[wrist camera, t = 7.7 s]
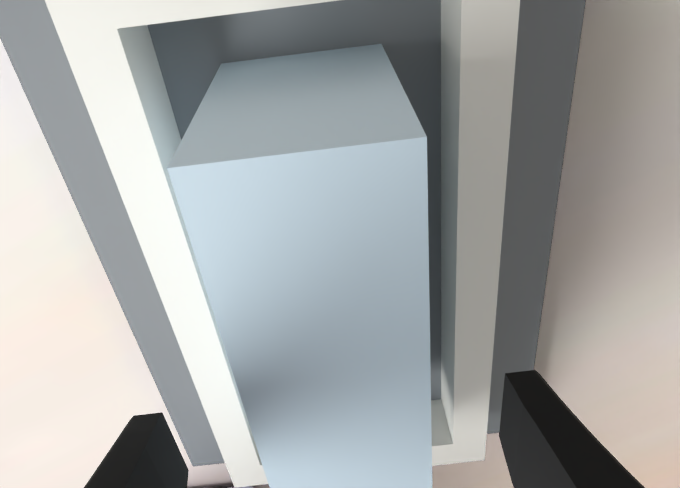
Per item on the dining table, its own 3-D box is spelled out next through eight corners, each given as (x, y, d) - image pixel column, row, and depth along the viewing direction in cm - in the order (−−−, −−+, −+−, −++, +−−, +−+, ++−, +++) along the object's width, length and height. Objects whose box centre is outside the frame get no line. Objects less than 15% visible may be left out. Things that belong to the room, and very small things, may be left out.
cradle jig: (517, 409, 23) (542, 473, 20) (197, 445, 23) (183, 513, 20) (590, -181, 11) (668, -201, 9) (-34, -98, 12) (-127, -96, 9)
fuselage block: (401, 375, 20) (433, 539, 15) (295, 387, 20) (291, 554, 15) (381, 43, 13) (427, 136, 8) (221, 63, 13) (167, 168, 8)
